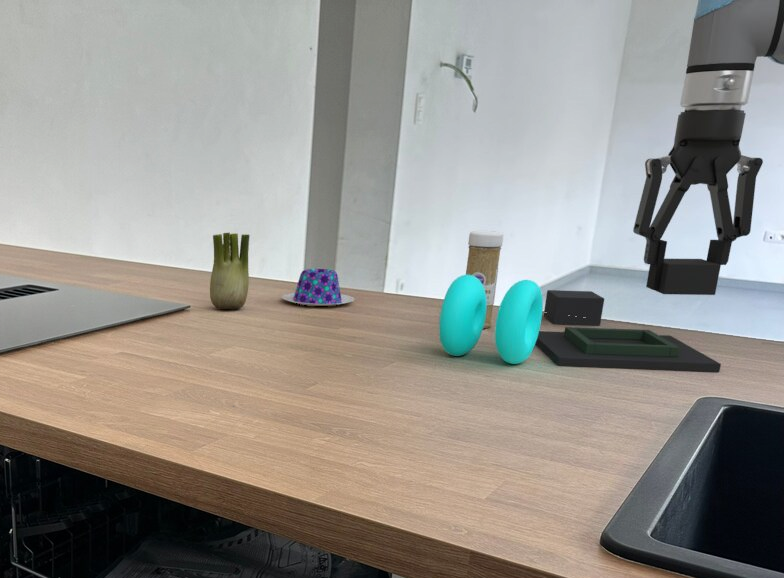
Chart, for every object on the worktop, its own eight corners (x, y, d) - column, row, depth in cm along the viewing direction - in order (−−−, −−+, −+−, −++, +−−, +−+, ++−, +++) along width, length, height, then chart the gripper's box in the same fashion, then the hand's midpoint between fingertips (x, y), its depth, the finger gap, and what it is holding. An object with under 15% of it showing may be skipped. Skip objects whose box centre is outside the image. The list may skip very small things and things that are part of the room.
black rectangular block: (695, 287, 121) (701, 258, 120) (715, 295, 115) (721, 264, 114) (646, 287, 122) (651, 258, 121) (663, 294, 116) (668, 264, 115)
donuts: (459, 346, 113) (468, 269, 109) (538, 357, 107) (550, 276, 104) (431, 361, 105) (440, 278, 102) (515, 373, 99) (527, 286, 96)
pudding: (365, 307, 139) (367, 275, 137) (294, 310, 137) (295, 276, 135) (339, 295, 150) (341, 265, 148) (272, 297, 148) (274, 266, 146)
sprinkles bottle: (459, 328, 124) (470, 232, 119) (458, 322, 128) (469, 229, 123) (492, 330, 123) (505, 233, 118) (491, 324, 127) (502, 230, 122)
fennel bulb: (248, 307, 139) (251, 231, 135) (244, 313, 134) (246, 234, 130) (213, 305, 140) (215, 230, 136) (207, 311, 136) (208, 233, 132)
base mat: (668, 342, 115) (672, 326, 115) (719, 372, 100) (723, 353, 100) (528, 337, 118) (531, 321, 117) (557, 365, 103) (560, 347, 102)
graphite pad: (587, 317, 132) (591, 291, 131) (600, 325, 126) (604, 298, 125) (543, 315, 133) (547, 290, 132) (553, 324, 127) (557, 297, 126)
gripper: (642, 109, 109) (613, 292, 116) (810, 106, 106) (770, 294, 113) (623, 111, 116) (597, 283, 123) (780, 109, 113) (744, 285, 120)
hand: (680, 288), depth 118 cm, fingers closed on black rectangular block, 6 cm apart
